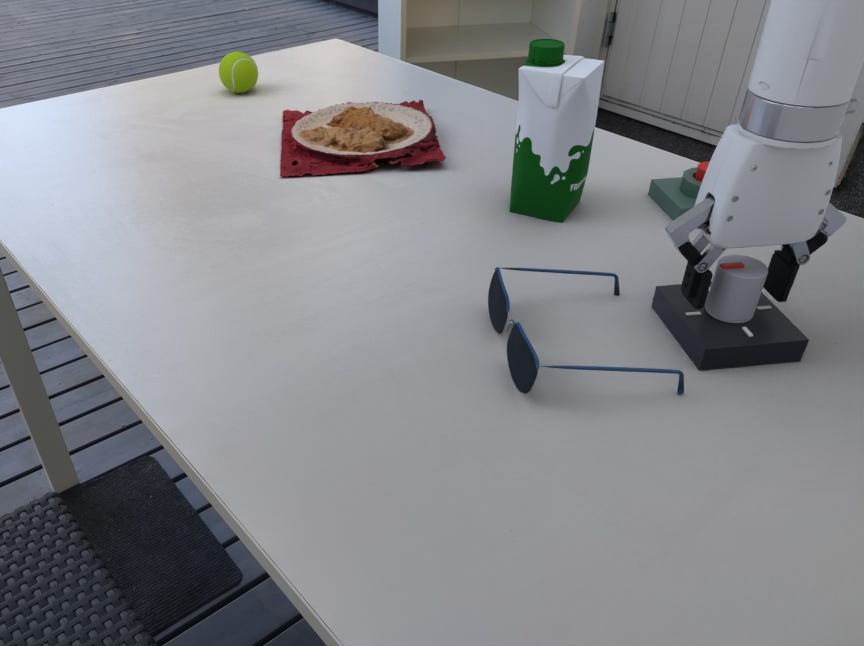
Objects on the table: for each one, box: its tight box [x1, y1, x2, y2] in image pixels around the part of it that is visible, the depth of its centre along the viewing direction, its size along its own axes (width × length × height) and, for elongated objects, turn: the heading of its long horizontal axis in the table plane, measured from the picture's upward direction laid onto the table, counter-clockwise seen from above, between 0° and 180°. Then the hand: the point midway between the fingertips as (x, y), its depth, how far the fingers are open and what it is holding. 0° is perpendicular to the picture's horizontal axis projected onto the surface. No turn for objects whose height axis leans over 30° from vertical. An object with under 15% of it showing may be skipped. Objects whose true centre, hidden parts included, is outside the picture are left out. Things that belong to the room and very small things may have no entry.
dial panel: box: [650, 281, 810, 371], centre depth 73 cm, size 10×11×3 cm
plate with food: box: [279, 98, 447, 178], centre depth 115 cm, size 24×26×4 cm
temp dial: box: [705, 254, 768, 323], centre depth 70 cm, size 4×4×5 cm
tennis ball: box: [218, 51, 259, 94], centre depth 134 cm, size 7×7×7 cm
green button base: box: [647, 166, 702, 221], centre depth 95 cm, size 11×9×4 cm
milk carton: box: [509, 38, 606, 224], centre depth 91 cm, size 9×9×20 cm
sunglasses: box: [487, 266, 685, 395], centre depth 71 cm, size 17×15×5 cm
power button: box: [695, 160, 710, 182], centre depth 93 cm, size 4×4×2 cm
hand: (733, 297), depth 71 cm, fingers open, 7 cm apart
